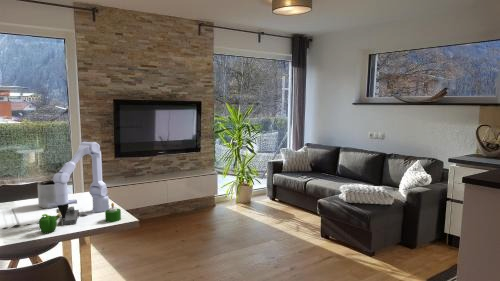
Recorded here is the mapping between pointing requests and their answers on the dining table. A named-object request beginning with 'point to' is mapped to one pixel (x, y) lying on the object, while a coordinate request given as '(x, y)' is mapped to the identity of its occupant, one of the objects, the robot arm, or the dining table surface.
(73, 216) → the plane body
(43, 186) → the planter
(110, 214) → the candle
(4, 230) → the dining table surface
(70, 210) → the lever
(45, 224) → the bell pepper
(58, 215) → the lever cap
